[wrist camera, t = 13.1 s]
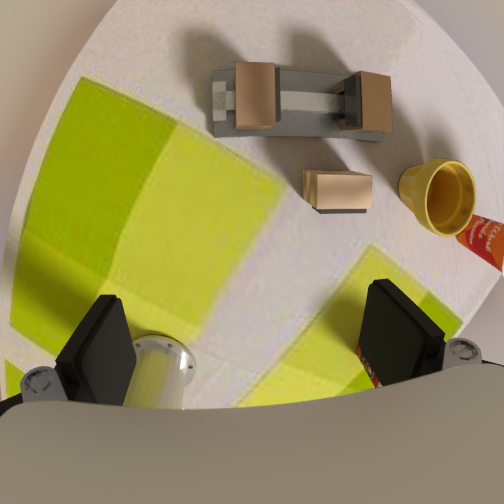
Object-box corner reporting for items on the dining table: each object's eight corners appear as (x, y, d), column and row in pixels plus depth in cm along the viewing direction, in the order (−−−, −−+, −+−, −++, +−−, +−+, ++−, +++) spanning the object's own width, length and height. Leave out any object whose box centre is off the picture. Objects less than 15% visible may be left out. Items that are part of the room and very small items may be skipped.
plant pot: (378, 169, 39) (415, 177, 30) (427, 145, 38) (468, 149, 29) (398, 229, 43) (434, 250, 34) (443, 203, 42) (481, 218, 33)
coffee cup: (472, 198, 42) (532, 220, 28) (482, 232, 45) (536, 260, 31) (445, 225, 43) (505, 255, 29) (457, 258, 46) (510, 293, 32)
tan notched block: (349, 202, 41) (370, 213, 34) (302, 202, 40) (316, 214, 34) (350, 170, 39) (372, 176, 32) (302, 169, 39) (317, 174, 32)
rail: (214, 137, 36) (211, 135, 28) (213, 72, 33) (209, 54, 25) (378, 141, 38) (409, 142, 30) (376, 82, 35) (406, 73, 27)
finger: (234, 129, 35) (236, 125, 28) (234, 77, 32) (235, 62, 26) (271, 128, 35) (281, 125, 29) (270, 77, 33) (280, 63, 26)
